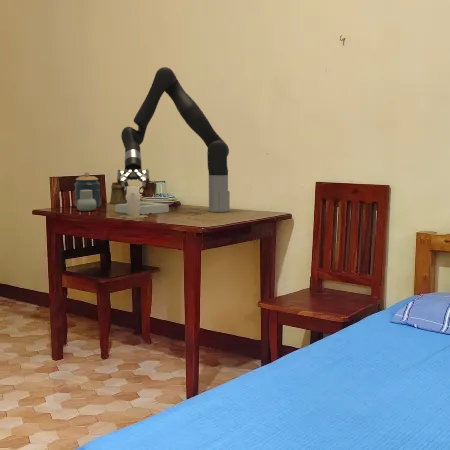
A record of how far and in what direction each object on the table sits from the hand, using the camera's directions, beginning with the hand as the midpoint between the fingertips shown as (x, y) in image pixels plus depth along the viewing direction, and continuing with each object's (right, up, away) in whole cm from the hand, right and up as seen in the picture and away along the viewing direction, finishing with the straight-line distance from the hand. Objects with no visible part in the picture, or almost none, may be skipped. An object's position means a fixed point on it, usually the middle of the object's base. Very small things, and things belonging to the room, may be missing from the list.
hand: (133, 188), depth 274 cm
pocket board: (+1, -10, +20) cm, 22 cm away
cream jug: (0, -12, -2) cm, 12 cm away
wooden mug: (-15, -5, +58) cm, 60 cm away
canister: (-30, -7, +43) cm, 53 cm away
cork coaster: (0, -13, -1) cm, 13 cm away
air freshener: (-26, -9, +25) cm, 37 cm away
